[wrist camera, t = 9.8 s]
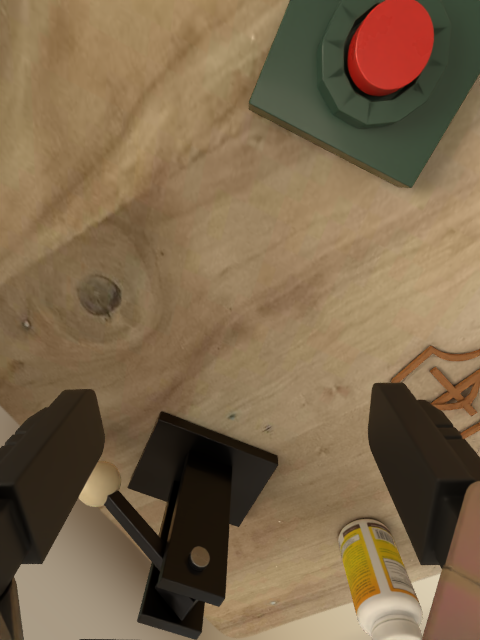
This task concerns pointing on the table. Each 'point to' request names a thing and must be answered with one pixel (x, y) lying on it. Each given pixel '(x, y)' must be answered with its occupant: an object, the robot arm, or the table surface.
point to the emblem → (449, 384)
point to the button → (390, 47)
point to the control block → (353, 104)
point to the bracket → (195, 513)
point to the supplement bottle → (379, 582)
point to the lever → (131, 525)
